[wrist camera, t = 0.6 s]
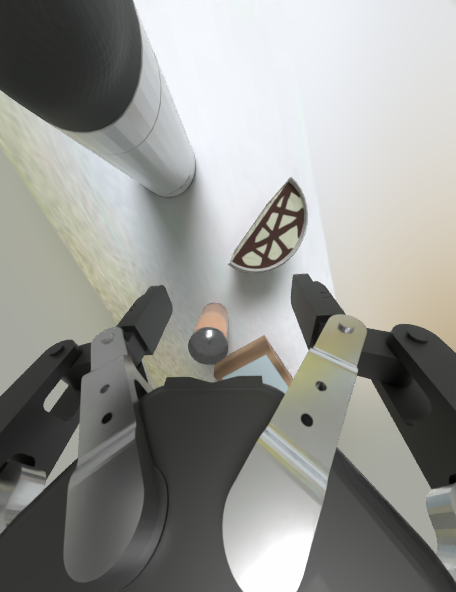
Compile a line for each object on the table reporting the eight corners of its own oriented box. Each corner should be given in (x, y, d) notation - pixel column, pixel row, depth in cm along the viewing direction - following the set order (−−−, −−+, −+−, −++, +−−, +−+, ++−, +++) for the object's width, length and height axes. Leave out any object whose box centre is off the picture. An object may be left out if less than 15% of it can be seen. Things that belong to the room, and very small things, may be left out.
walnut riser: (215, 362, 37) (213, 377, 33) (264, 335, 35) (268, 347, 31) (244, 399, 40) (246, 417, 36) (291, 376, 38) (299, 392, 34)
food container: (255, 279, 32) (266, 294, 23) (228, 259, 31) (227, 266, 22) (301, 219, 29) (336, 208, 20) (272, 195, 28) (294, 171, 19)
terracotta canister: (195, 311, 34) (180, 342, 24) (218, 297, 33) (213, 322, 23) (211, 332, 35) (203, 370, 25) (233, 319, 35) (235, 352, 24)
